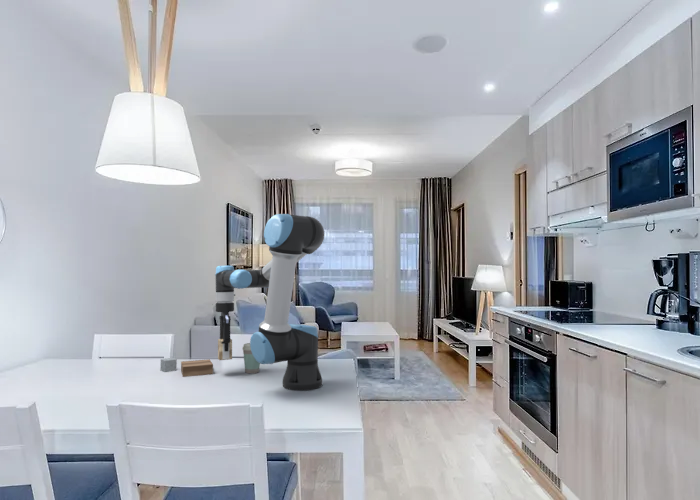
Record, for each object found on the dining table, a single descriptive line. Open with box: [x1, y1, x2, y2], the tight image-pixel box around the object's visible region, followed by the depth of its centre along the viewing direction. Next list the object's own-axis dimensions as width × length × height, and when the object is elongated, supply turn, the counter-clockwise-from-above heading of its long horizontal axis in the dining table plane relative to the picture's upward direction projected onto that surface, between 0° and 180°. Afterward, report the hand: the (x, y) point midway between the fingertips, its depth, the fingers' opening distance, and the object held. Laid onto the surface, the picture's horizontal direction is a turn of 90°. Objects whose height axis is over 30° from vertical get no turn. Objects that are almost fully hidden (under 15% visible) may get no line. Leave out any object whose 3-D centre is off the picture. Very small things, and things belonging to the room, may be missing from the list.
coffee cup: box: [242, 342, 261, 374], centre depth 194 cm, size 8×8×12 cm
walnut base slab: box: [180, 359, 214, 378], centre depth 193 cm, size 12×12×4 cm
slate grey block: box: [160, 357, 178, 373], centre depth 197 cm, size 5×5×5 cm
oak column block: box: [217, 338, 233, 361], centre depth 188 cm, size 5×5×8 cm
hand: (224, 357), depth 188 cm, fingers closed on oak column block, 5 cm apart
